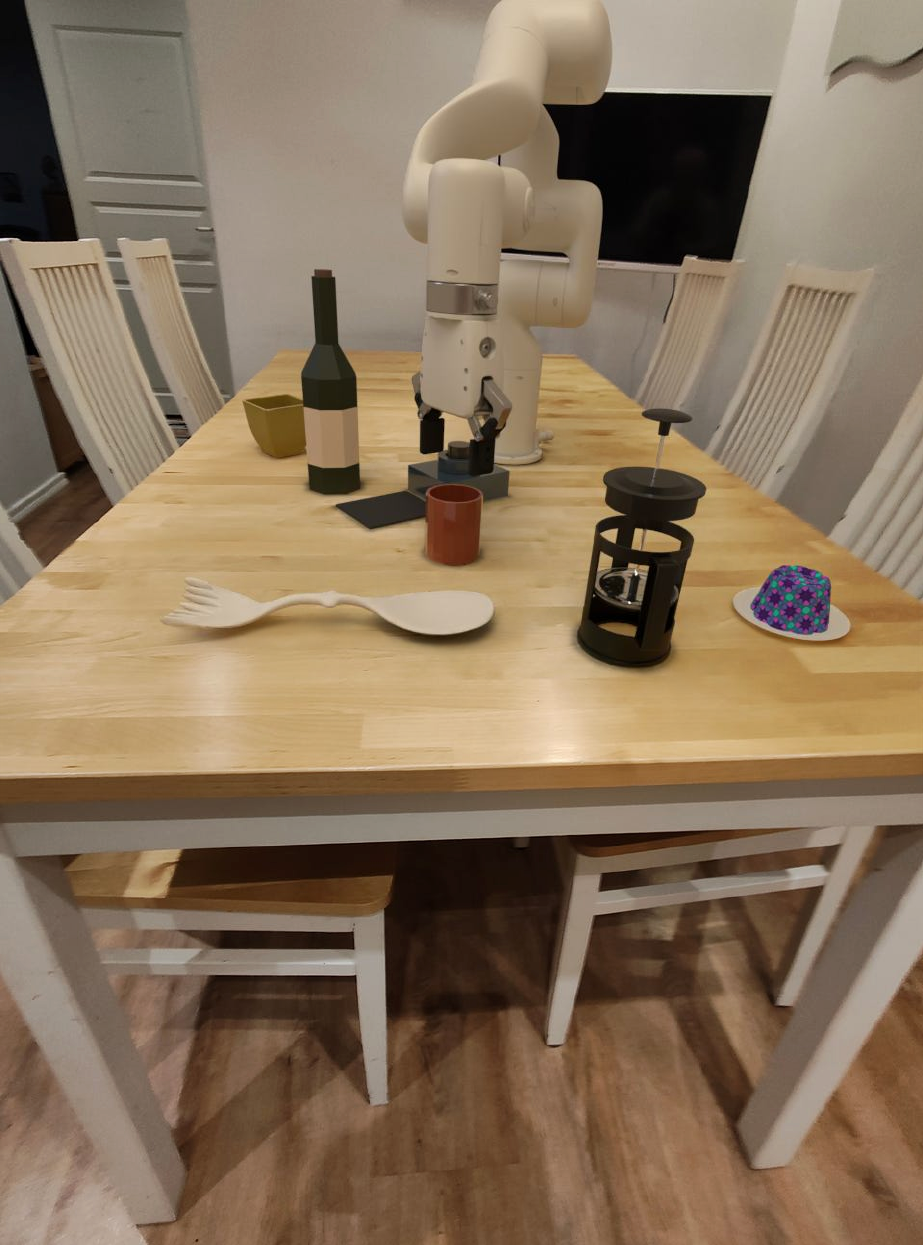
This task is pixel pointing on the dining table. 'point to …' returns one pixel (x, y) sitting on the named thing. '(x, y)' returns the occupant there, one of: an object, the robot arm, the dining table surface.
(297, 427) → the flower pot
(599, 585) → the french press
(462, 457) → the dark brown button
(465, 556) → the cup
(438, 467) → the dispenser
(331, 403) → the wine bottle
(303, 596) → the spoon
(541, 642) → the dining table surface
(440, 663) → the dining table surface
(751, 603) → the purple patterned hat
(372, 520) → the mat
